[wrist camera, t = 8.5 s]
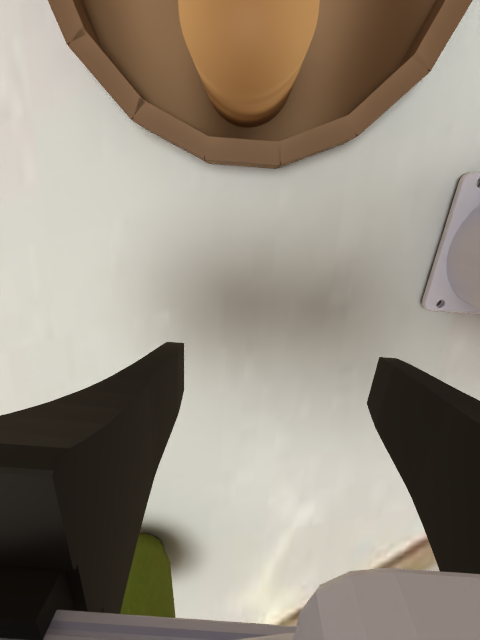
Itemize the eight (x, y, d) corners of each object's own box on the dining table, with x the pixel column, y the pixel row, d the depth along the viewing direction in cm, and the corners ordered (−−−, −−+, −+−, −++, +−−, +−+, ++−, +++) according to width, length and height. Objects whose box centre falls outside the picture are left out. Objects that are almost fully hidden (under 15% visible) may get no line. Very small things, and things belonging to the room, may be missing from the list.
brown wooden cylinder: (299, 22, 14) (332, -88, 9) (286, 131, 16) (307, 97, 10) (205, 13, 14) (178, -101, 9) (202, 123, 16) (178, 86, 10)
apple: (94, 556, 31) (13, 747, 20) (113, 502, 28) (29, 693, 17) (176, 577, 32) (141, 770, 21) (203, 528, 29) (176, 724, 18)
